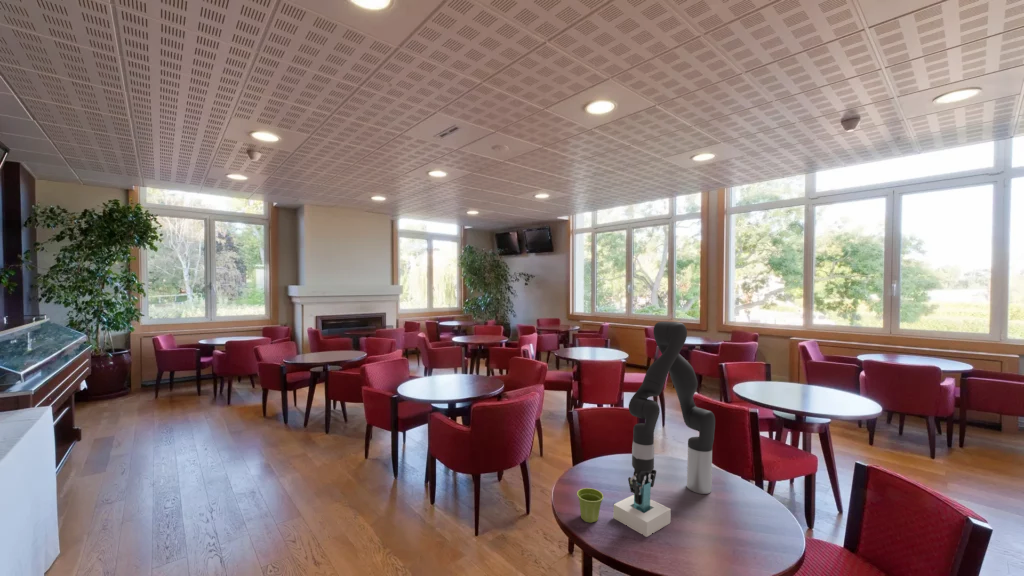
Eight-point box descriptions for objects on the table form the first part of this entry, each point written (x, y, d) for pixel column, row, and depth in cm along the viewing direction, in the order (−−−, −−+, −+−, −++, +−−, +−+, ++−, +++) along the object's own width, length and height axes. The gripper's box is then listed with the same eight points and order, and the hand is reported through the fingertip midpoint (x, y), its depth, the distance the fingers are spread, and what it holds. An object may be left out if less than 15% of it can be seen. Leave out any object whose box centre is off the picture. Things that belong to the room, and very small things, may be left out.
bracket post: (640, 510, 155) (641, 477, 155) (649, 515, 152) (650, 482, 152) (633, 514, 153) (634, 481, 152) (643, 519, 150) (643, 485, 149)
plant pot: (604, 514, 156) (604, 490, 156) (601, 528, 147) (601, 503, 147) (579, 509, 159) (579, 486, 159) (574, 522, 150) (574, 498, 150)
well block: (637, 505, 162) (637, 492, 162) (670, 522, 151) (670, 508, 151) (613, 518, 154) (613, 504, 154) (646, 537, 143) (647, 522, 142)
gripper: (646, 446, 159) (645, 491, 160) (621, 455, 150) (620, 503, 151) (663, 453, 153) (662, 500, 154) (639, 463, 144) (638, 513, 145)
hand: (642, 501), depth 152 cm, fingers closed on bracket post, 4 cm apart
